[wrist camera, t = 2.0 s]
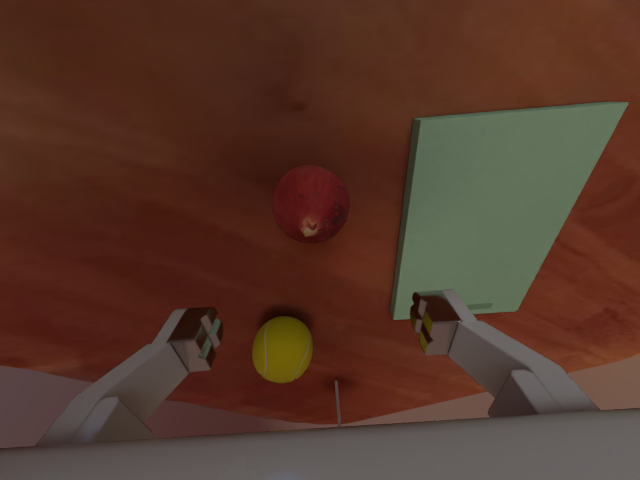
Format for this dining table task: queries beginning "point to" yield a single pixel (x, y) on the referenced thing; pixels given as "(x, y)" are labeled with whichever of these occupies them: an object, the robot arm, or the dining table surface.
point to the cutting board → (492, 199)
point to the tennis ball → (282, 349)
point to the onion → (310, 204)
